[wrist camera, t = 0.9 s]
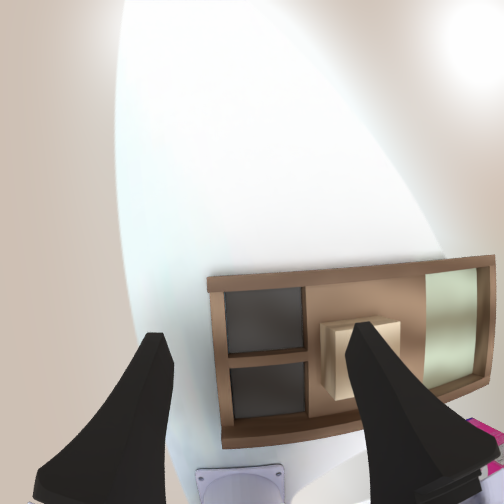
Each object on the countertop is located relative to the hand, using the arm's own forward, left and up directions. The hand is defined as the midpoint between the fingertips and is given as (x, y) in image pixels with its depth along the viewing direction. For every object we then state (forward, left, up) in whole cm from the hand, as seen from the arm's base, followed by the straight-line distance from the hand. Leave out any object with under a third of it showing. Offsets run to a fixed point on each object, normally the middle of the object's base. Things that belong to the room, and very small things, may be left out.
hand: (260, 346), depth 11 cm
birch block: (-4, -8, -11) cm, 14 cm away
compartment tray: (-4, -11, -12) cm, 17 cm away
